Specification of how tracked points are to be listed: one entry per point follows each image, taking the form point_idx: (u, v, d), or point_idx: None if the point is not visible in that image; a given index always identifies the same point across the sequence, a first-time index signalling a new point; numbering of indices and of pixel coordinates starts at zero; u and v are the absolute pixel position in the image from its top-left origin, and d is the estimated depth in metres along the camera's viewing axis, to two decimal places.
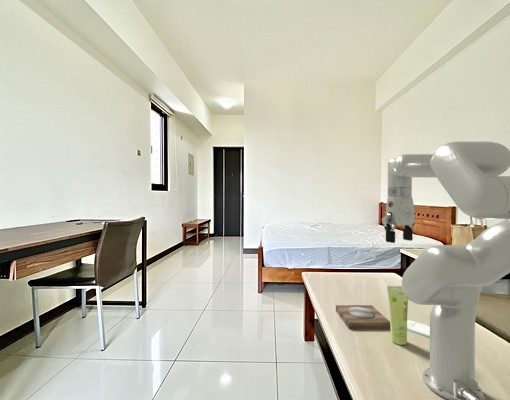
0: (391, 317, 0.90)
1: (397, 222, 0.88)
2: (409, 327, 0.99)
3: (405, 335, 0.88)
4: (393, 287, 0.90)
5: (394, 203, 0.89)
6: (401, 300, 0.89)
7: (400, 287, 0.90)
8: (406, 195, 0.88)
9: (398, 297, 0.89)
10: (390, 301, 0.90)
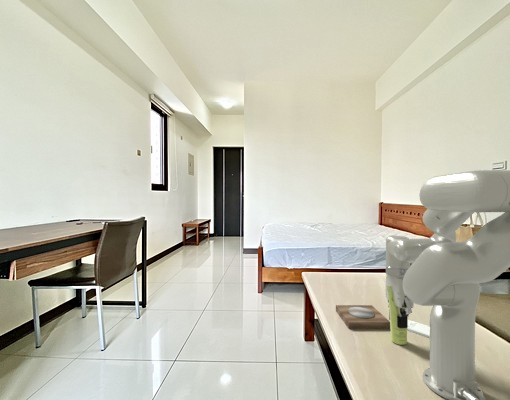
0: (391, 317, 0.90)
1: (413, 305, 0.86)
2: (409, 327, 0.99)
3: (405, 335, 0.88)
4: None
5: None
6: None
7: None
8: None
9: None
10: (390, 301, 0.90)
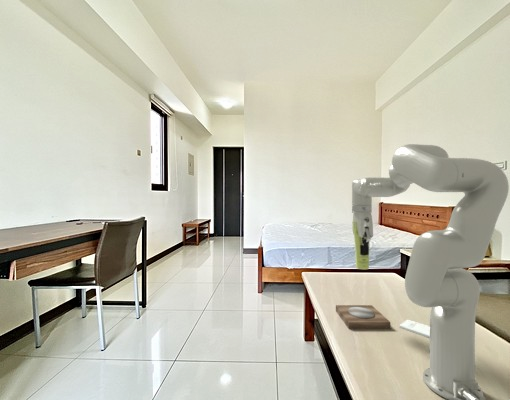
0: (356, 247, 1.07)
1: (372, 235, 1.02)
2: (409, 327, 0.99)
3: (367, 261, 1.05)
4: None
5: (370, 218, 1.02)
6: None
7: None
8: (371, 211, 1.06)
9: None
10: (355, 234, 1.07)
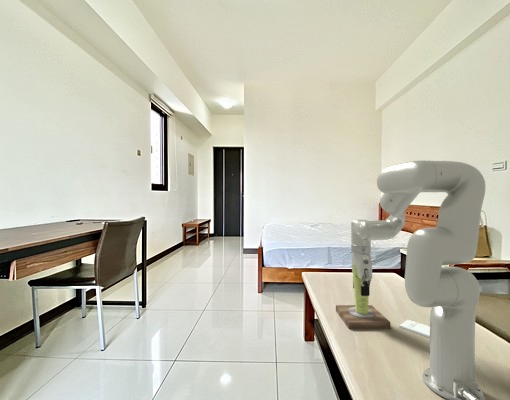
0: (355, 291, 1.07)
1: None
2: (409, 327, 0.98)
3: (366, 306, 1.05)
4: None
5: (369, 260, 1.03)
6: None
7: None
8: (370, 252, 1.06)
9: None
10: (354, 277, 1.07)
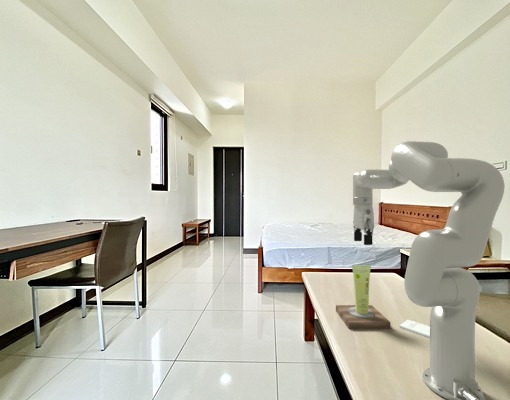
0: (355, 291, 1.07)
1: None
2: (410, 327, 0.98)
3: (366, 306, 1.05)
4: (357, 266, 1.07)
5: (371, 210, 1.03)
6: (363, 277, 1.06)
7: (363, 266, 1.07)
8: (372, 203, 1.07)
9: (361, 274, 1.06)
10: (354, 278, 1.07)
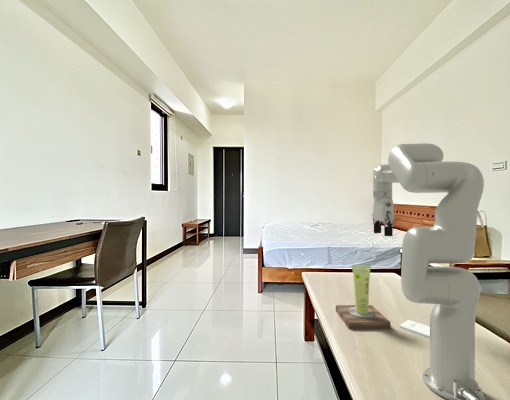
0: (355, 291, 1.07)
1: None
2: (410, 327, 0.98)
3: (366, 306, 1.05)
4: (357, 266, 1.07)
5: (391, 203, 1.09)
6: (363, 277, 1.06)
7: (363, 266, 1.07)
8: None
9: (361, 274, 1.06)
10: (354, 278, 1.07)
